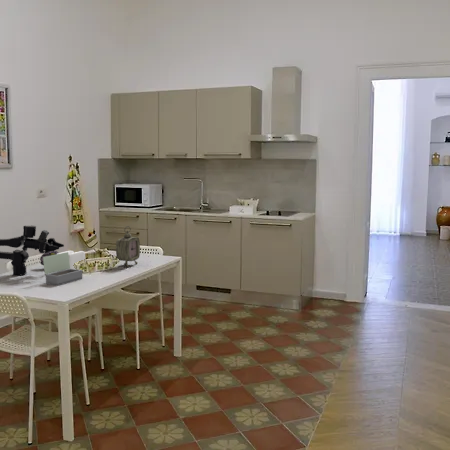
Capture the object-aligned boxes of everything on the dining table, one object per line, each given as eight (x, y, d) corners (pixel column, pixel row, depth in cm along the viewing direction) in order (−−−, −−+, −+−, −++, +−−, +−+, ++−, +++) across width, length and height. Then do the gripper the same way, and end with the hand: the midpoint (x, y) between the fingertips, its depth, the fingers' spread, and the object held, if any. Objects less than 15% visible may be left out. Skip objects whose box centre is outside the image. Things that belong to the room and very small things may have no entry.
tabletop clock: (128, 268, 331) (127, 227, 328) (115, 267, 334) (114, 227, 331) (140, 263, 344) (139, 225, 341) (128, 262, 348) (127, 224, 345)
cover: (45, 274, 290) (44, 274, 290) (70, 268, 305) (69, 268, 305) (43, 257, 289) (42, 257, 290) (68, 252, 304) (67, 252, 305)
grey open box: (46, 283, 290) (45, 274, 290) (70, 277, 306) (70, 268, 305) (57, 285, 286) (57, 276, 285) (82, 279, 301) (82, 270, 301)
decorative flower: (39, 255, 322) (44, 244, 336) (35, 271, 326) (40, 260, 340) (63, 260, 325) (67, 249, 339) (60, 277, 329) (63, 265, 343)
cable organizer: (69, 274, 314) (68, 254, 313) (55, 272, 319) (54, 253, 317) (85, 269, 328) (85, 250, 327) (72, 268, 332) (71, 249, 331)
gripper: (29, 232, 301) (57, 235, 302) (41, 228, 320) (67, 231, 320) (28, 251, 303) (56, 254, 303) (39, 246, 321) (65, 249, 322)
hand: (61, 246), depth 312 cm, fingers open, 9 cm apart
